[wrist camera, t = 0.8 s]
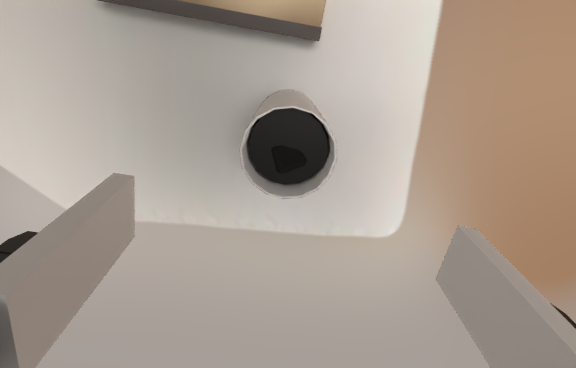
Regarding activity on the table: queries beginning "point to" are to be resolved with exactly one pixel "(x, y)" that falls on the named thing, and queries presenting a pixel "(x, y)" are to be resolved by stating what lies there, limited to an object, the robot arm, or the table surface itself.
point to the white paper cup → (288, 146)
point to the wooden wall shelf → (246, 13)
